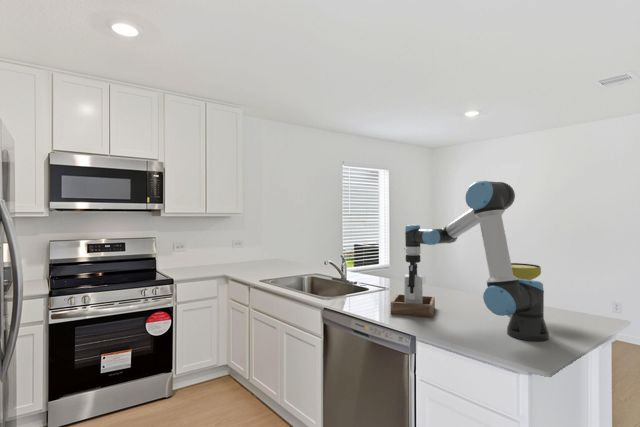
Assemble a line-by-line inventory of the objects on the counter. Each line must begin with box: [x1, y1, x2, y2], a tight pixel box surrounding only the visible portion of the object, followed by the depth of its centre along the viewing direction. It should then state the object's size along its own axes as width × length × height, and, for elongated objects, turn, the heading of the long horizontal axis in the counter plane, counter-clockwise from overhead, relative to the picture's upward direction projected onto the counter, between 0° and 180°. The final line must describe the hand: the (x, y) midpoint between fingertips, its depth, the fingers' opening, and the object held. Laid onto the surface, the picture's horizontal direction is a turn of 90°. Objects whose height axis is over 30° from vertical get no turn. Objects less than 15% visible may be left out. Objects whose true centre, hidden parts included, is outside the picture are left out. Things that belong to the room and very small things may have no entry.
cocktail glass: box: [507, 262, 542, 319], centre depth 181 cm, size 18×18×25 cm
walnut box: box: [390, 293, 436, 319], centre depth 193 cm, size 20×20×6 cm
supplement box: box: [403, 273, 424, 304], centre depth 193 cm, size 9×9×15 cm
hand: (413, 297), depth 193 cm, fingers closed on supplement box, 10 cm apart
